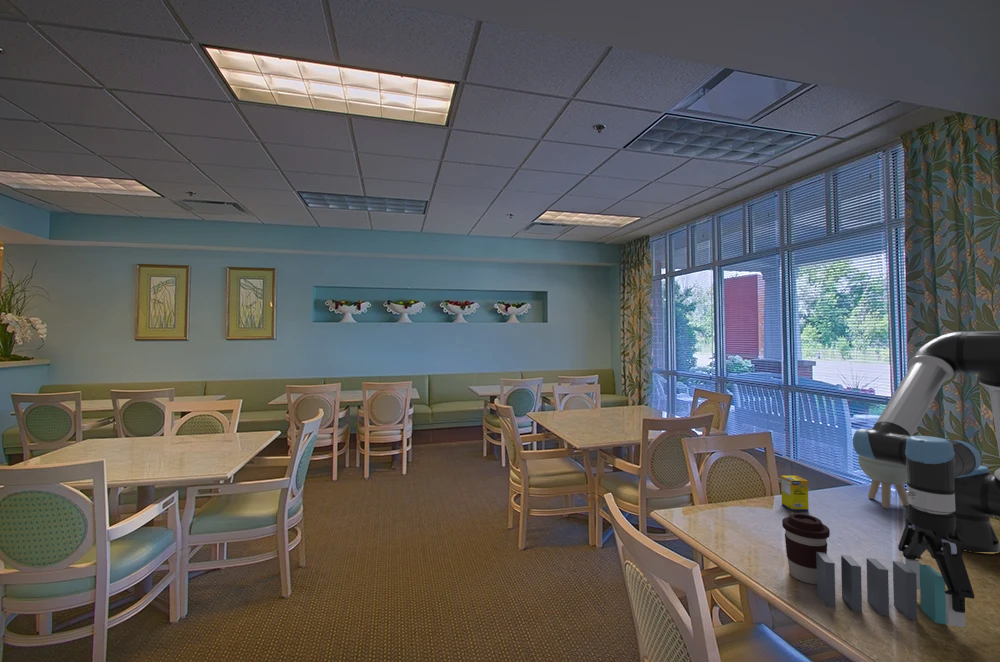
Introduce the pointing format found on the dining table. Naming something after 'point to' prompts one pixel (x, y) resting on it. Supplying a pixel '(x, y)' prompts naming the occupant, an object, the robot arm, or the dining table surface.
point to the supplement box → (794, 493)
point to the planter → (885, 479)
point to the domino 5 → (932, 594)
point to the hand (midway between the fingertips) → (933, 605)
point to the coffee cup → (804, 545)
